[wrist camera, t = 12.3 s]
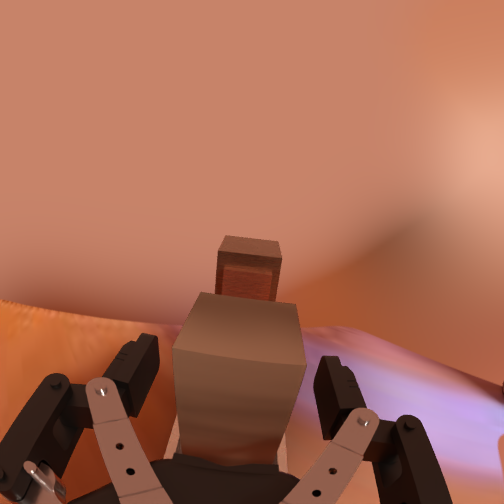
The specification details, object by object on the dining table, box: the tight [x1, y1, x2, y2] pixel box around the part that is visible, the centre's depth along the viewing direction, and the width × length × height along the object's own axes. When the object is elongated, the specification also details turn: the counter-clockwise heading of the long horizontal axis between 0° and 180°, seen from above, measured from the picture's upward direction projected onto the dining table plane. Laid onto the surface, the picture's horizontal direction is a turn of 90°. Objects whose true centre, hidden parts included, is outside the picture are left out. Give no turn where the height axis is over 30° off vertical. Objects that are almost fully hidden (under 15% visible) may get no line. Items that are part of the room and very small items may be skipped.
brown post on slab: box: [163, 236, 288, 473], centre depth 16 cm, size 20×8×14 cm, turn 178°
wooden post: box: [172, 292, 307, 466], centre depth 11 cm, size 4×4×12 cm
